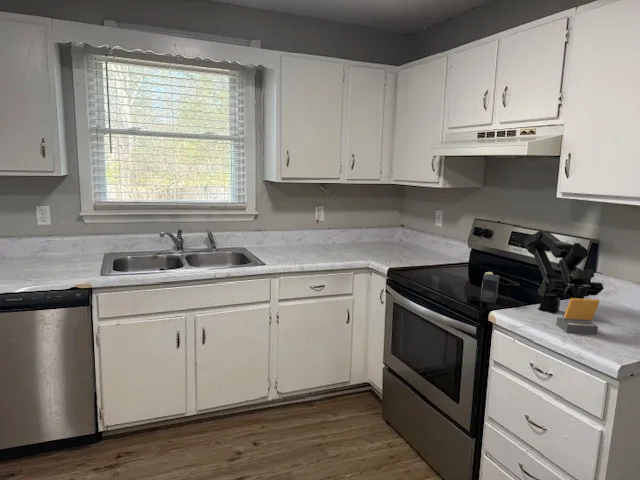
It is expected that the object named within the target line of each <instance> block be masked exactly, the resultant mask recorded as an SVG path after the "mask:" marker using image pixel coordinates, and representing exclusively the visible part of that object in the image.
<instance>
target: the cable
mask: <svg viewBox="0 0 640 480" xmlns="http://www.w3.org/2000/svg"><path fill="white" fill-rule="evenodd" d="M485 274H491V275H495V274H494V273H493V272H492V271H487V272H485V273H484V275H483V277H484V276H485ZM499 279H503V280H507V281H508V282H509V283H507V284H506V283H503V282H502V281H500V280H499V284H501V285H503V286H514V287H515V286H516V287H519V286H521V284H520V283H519V282H516V281H513V280H511V279H509V278H507V277H506V278H505V277H503V276H501V275H499Z"/></svg>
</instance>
